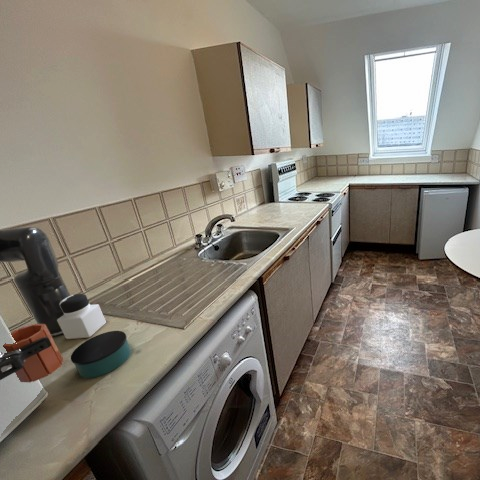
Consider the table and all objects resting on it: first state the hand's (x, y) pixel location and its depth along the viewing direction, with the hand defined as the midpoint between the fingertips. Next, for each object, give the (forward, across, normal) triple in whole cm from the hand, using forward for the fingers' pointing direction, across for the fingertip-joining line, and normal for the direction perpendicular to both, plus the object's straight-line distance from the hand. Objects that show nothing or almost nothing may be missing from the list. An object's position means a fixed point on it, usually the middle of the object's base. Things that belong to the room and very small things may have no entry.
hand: (42, 335), depth 54 cm
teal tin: (+9, +7, +18) cm, 21 cm away
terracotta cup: (-2, 0, +7) cm, 7 cm away
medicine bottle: (+12, +27, +18) cm, 34 cm away
